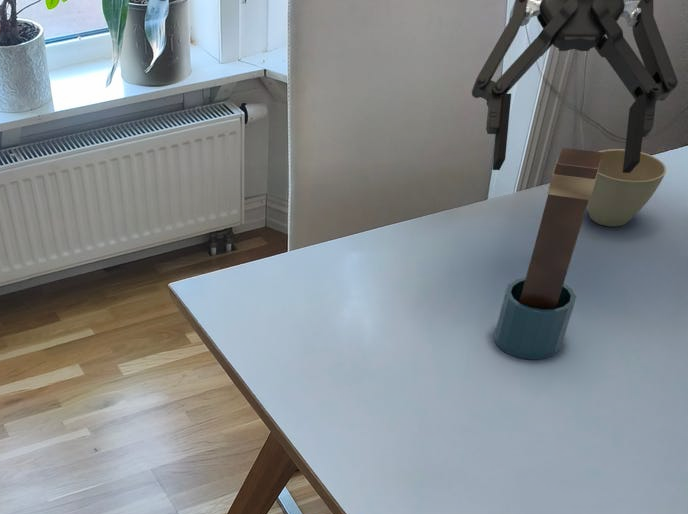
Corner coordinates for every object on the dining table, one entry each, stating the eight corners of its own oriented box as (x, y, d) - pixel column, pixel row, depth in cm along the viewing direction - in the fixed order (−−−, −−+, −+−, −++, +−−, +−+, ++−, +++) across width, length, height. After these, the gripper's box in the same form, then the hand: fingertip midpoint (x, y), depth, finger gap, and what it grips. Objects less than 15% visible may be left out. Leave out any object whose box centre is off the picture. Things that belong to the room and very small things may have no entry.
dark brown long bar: (549, 330, 104) (603, 151, 89) (544, 349, 102) (599, 169, 86) (513, 324, 105) (560, 146, 90) (507, 343, 103) (555, 163, 87)
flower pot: (626, 243, 118) (645, 188, 112) (558, 220, 122) (573, 166, 116) (659, 215, 122) (679, 161, 117) (592, 195, 127) (608, 142, 121)
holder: (564, 330, 105) (579, 282, 101) (555, 364, 101) (571, 317, 96) (500, 318, 107) (512, 272, 102) (489, 352, 103) (501, 305, 98)
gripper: (696, -27, 93) (672, 183, 96) (456, -27, 95) (438, 178, 98) (730, -77, 86) (703, 152, 88) (469, -76, 88) (450, 147, 90)
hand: (564, 166), depth 93 cm, fingers open, 13 cm apart
